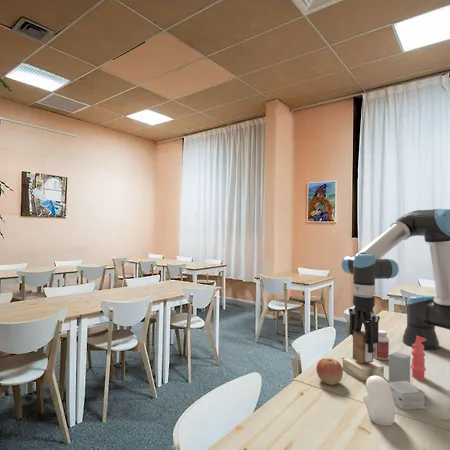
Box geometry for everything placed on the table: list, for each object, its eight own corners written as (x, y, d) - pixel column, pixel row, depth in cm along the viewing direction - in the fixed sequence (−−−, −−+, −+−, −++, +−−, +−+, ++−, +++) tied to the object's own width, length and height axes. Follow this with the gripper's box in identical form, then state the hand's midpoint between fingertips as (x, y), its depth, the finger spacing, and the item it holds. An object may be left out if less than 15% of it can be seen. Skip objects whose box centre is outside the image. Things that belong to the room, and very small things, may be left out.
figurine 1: (360, 413, 97) (361, 371, 97) (385, 412, 97) (386, 370, 97) (373, 427, 89) (374, 382, 90) (400, 426, 90) (401, 381, 90)
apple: (329, 390, 110) (329, 365, 111) (310, 379, 118) (311, 356, 118) (348, 385, 114) (348, 361, 115) (329, 375, 122) (329, 353, 122)
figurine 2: (424, 375, 124) (425, 334, 124) (428, 381, 119) (428, 338, 120) (409, 373, 126) (409, 333, 126) (411, 378, 121) (412, 337, 121)
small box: (384, 397, 107) (385, 381, 107) (407, 396, 108) (407, 380, 108) (401, 410, 99) (401, 393, 99) (425, 408, 100) (425, 391, 100)
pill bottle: (391, 358, 140) (392, 332, 141) (383, 361, 137) (383, 334, 137) (377, 354, 146) (378, 328, 146) (369, 356, 142) (369, 330, 142)
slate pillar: (395, 379, 120) (395, 351, 120) (410, 384, 116) (410, 355, 116) (388, 383, 117) (389, 354, 117) (403, 388, 113) (404, 358, 113)
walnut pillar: (363, 357, 128) (363, 330, 128) (373, 361, 123) (373, 334, 124) (352, 358, 126) (353, 331, 127) (362, 363, 122) (362, 335, 122)
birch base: (363, 366, 131) (364, 356, 131) (383, 377, 122) (383, 366, 122) (342, 369, 128) (342, 358, 128) (361, 380, 118) (361, 369, 118)
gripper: (339, 291, 133) (338, 350, 132) (373, 300, 116) (372, 368, 115) (355, 291, 135) (354, 349, 135) (390, 299, 118) (390, 366, 118)
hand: (362, 358), depth 125 cm, fingers closed on walnut pillar, 5 cm apart
